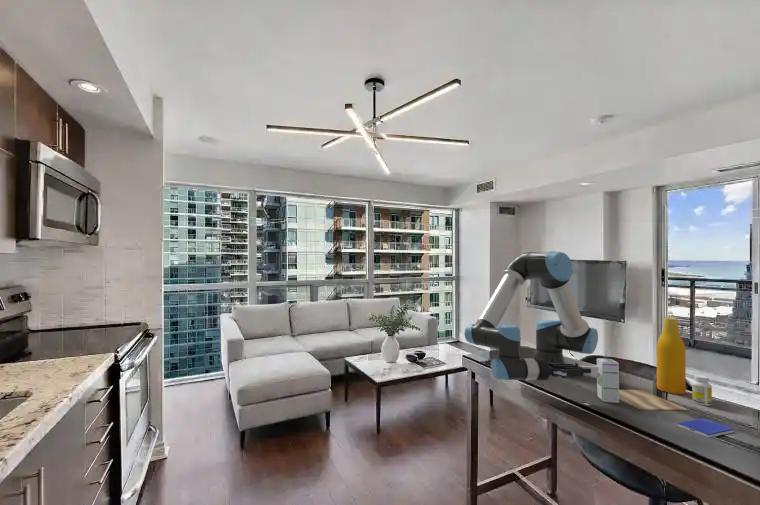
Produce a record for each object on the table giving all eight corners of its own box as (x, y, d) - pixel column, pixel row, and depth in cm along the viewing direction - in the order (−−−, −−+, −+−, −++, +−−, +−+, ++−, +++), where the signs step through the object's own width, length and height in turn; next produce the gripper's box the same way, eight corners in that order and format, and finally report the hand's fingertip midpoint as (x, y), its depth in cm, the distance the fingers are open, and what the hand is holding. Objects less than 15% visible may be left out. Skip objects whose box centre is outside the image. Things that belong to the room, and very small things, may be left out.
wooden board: (640, 410, 126) (640, 408, 126) (601, 390, 146) (601, 389, 146) (687, 410, 127) (687, 409, 127) (642, 391, 147) (642, 389, 147)
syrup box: (619, 403, 133) (620, 362, 133) (601, 401, 134) (602, 361, 134) (613, 398, 138) (613, 358, 139) (596, 396, 139) (596, 357, 140)
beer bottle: (687, 391, 149) (686, 319, 150) (684, 396, 142) (684, 321, 143) (658, 385, 155) (658, 316, 156) (654, 390, 149) (654, 318, 150)
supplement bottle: (707, 402, 137) (707, 375, 137) (715, 407, 132) (714, 379, 132) (689, 400, 138) (689, 373, 139) (696, 404, 133) (696, 377, 134)
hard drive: (701, 417, 119) (676, 422, 114) (733, 428, 111) (708, 433, 107) (701, 422, 119) (677, 427, 114) (733, 433, 111) (708, 439, 107)
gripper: (526, 374, 141) (586, 375, 142) (543, 385, 128) (609, 386, 129) (526, 354, 141) (586, 355, 143) (543, 363, 128) (609, 364, 130)
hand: (596, 370), depth 136 cm, fingers closed
